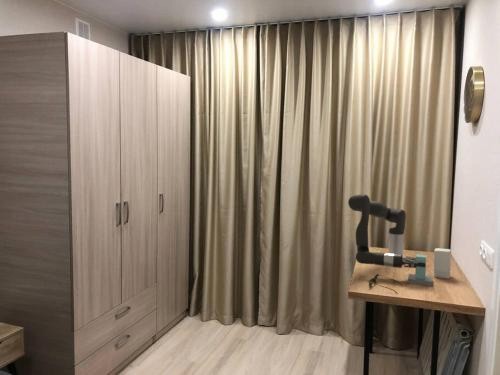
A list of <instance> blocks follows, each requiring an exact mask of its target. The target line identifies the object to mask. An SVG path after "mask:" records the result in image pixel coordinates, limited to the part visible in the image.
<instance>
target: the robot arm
mask: <svg viewBox="0 0 500 375" xmlns="http://www.w3.org/2000/svg"><path fill="white" fill-rule="evenodd" d="M370 199H371V198H370V197H369V196H368V195H367V194H365V193H364V194H357V195H356V194H355V195H352V196H350V197H349V198H348V207H349V208H350V209H351V210H352V211H354V212H361V217H360V220H359V222H358V225H357V226H356V229H355V244H356V252H357V253H356V254H355V259H356V262H358V263H359V264H363V265H376V266H383V267H389V268H397V269H401V268H402V267H403V266H404V267H405V268H411V269H416V267H427V262H426V263H420V262H416V256H405V257H404V239H405V237H404V236H405V229H406V219H407V218H406V216H407V214H406V211H405V210H404V209H399V208H390V207H387V205H386V204H384V203H383V202H379V201H376V200H370ZM370 216H373V217H375V218H379V219H384V220H386V221H388V222H389V223H392V224H394V223H395V226H394V227H390V228H389V229H388V252H372V251H370V247H369V221H370Z"/></svg>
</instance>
